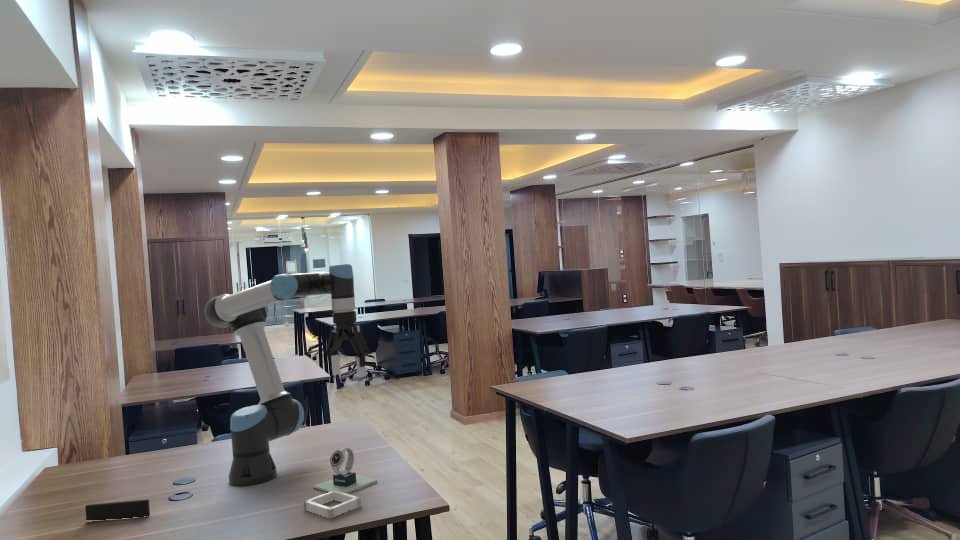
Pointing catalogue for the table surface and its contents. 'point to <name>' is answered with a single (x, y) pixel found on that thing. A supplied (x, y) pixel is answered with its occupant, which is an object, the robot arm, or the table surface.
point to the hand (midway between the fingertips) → (348, 375)
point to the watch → (345, 476)
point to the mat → (359, 484)
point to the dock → (347, 504)
